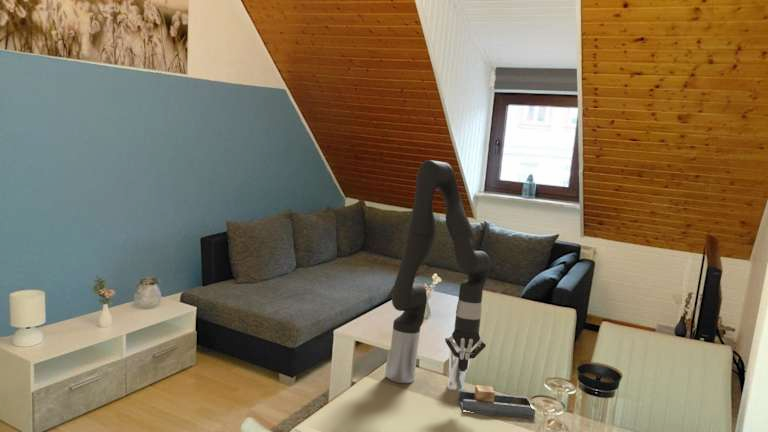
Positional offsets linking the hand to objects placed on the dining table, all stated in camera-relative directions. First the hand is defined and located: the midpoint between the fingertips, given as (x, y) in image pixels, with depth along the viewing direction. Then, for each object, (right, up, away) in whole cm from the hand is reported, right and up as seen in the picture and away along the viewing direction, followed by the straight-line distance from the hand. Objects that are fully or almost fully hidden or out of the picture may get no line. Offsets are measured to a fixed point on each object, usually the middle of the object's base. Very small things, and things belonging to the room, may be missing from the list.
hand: (462, 370), depth 168 cm
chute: (+11, -13, +1) cm, 16 cm away
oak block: (+7, -11, +1) cm, 13 cm away
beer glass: (0, -11, +16) cm, 19 cm away
